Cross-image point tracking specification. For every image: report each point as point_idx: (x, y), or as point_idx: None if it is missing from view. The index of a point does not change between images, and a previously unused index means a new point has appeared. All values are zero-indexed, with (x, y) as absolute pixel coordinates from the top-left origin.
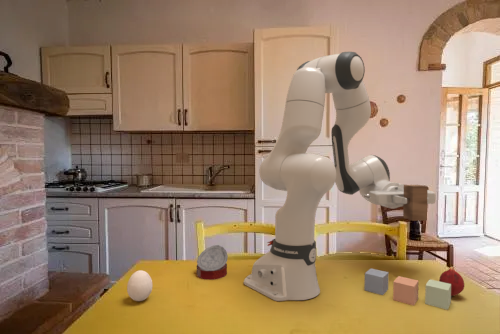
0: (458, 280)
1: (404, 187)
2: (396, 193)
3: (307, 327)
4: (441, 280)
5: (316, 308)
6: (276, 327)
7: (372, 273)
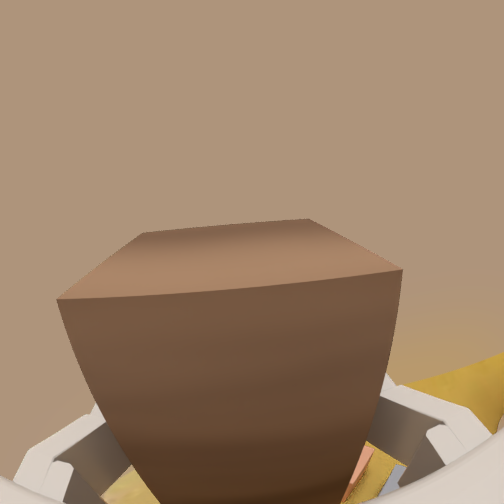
0: None
1: (384, 306)
2: (472, 452)
3: (473, 366)
4: None
5: (483, 402)
6: (497, 357)
7: None
